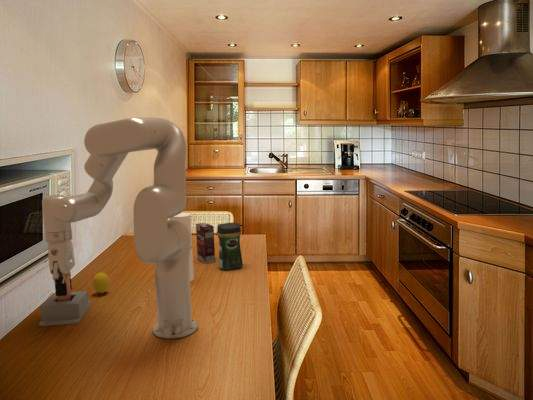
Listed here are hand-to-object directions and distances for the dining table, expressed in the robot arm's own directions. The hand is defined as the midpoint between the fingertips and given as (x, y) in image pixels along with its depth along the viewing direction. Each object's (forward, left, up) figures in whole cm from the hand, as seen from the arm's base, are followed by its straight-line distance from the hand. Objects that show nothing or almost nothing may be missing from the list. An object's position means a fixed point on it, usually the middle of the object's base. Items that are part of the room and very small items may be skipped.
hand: (64, 292), depth 145 cm
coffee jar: (+39, -53, -7) cm, 66 cm away
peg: (0, 0, -4) cm, 4 cm away
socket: (0, 0, -7) cm, 7 cm away
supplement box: (+51, -43, -7) cm, 67 cm away
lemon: (+17, -7, -7) cm, 20 cm away
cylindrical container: (+27, -35, -7) cm, 45 cm away
